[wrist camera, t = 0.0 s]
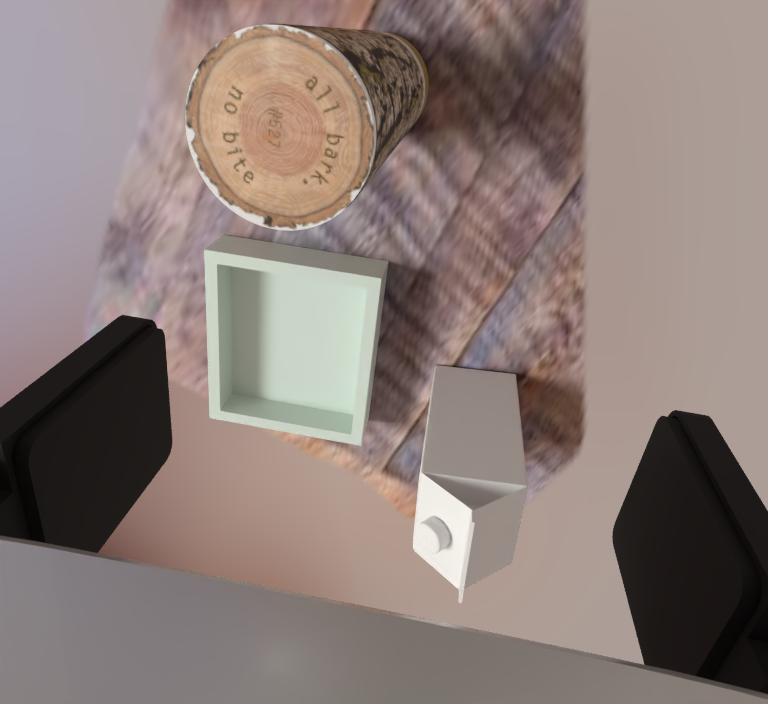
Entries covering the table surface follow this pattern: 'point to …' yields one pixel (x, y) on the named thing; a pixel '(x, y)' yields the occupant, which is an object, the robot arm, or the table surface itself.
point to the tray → (292, 337)
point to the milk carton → (470, 475)
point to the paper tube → (300, 118)
